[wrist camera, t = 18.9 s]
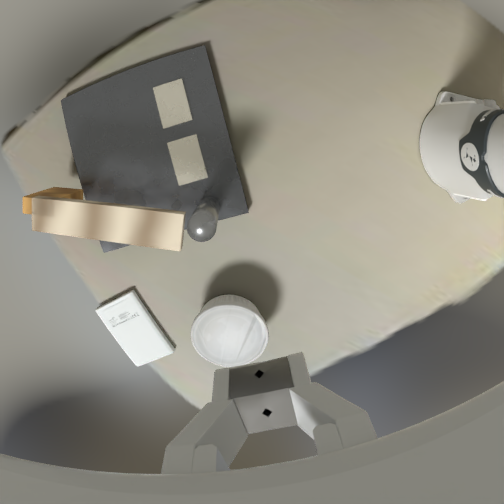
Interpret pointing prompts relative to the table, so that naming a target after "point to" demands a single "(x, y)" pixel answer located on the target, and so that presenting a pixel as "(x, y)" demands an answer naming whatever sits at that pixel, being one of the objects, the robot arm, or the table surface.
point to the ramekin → (229, 331)
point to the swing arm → (104, 219)
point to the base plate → (157, 142)
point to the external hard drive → (135, 329)
